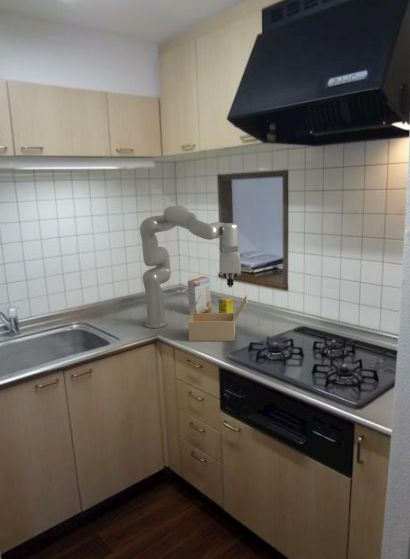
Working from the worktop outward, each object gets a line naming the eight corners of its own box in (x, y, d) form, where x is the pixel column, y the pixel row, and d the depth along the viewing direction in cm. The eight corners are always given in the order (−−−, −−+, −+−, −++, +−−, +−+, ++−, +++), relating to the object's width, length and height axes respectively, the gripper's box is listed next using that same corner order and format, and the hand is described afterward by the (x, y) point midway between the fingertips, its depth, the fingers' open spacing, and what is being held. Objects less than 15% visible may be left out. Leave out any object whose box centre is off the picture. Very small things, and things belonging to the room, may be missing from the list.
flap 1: (201, 295, 216) (200, 294, 216) (198, 302, 203) (197, 301, 203) (191, 313, 219) (190, 312, 219) (187, 321, 206) (186, 320, 206)
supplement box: (218, 318, 243) (218, 299, 240) (225, 315, 247) (224, 297, 245) (226, 319, 239) (226, 301, 236) (233, 317, 243) (232, 298, 241)
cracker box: (203, 309, 261) (202, 275, 257) (211, 310, 258) (210, 276, 253) (188, 314, 251) (187, 280, 246) (196, 316, 247) (194, 281, 243)
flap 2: (246, 302, 201) (247, 302, 201) (246, 294, 214) (247, 295, 214) (234, 320, 203) (235, 321, 203) (235, 312, 216) (236, 313, 216)
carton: (189, 341, 208) (188, 322, 205) (193, 331, 221) (192, 313, 219) (234, 341, 205) (233, 321, 203) (235, 331, 219) (234, 313, 217)
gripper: (213, 250, 200) (214, 288, 204) (245, 250, 198) (245, 288, 203) (215, 248, 207) (215, 284, 211) (245, 248, 206) (245, 284, 210)
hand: (230, 286), depth 207 cm, fingers closed
